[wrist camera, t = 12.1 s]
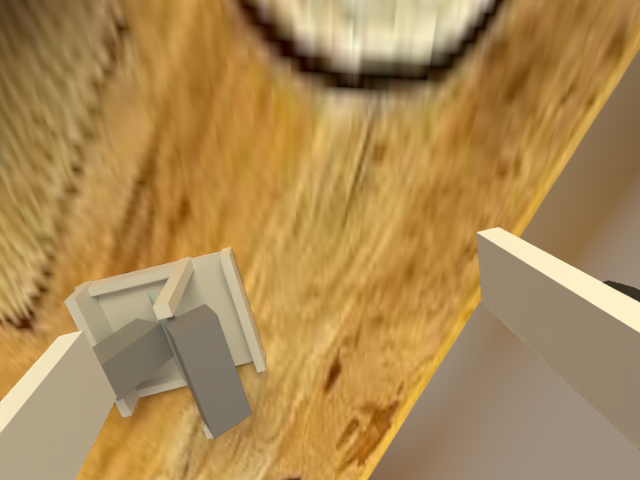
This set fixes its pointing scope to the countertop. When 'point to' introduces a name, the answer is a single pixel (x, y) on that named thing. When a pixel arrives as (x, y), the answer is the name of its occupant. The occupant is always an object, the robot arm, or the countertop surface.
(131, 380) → the gray rectangular block
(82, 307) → the frame
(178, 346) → the trapdoor
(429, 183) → the countertop surface
